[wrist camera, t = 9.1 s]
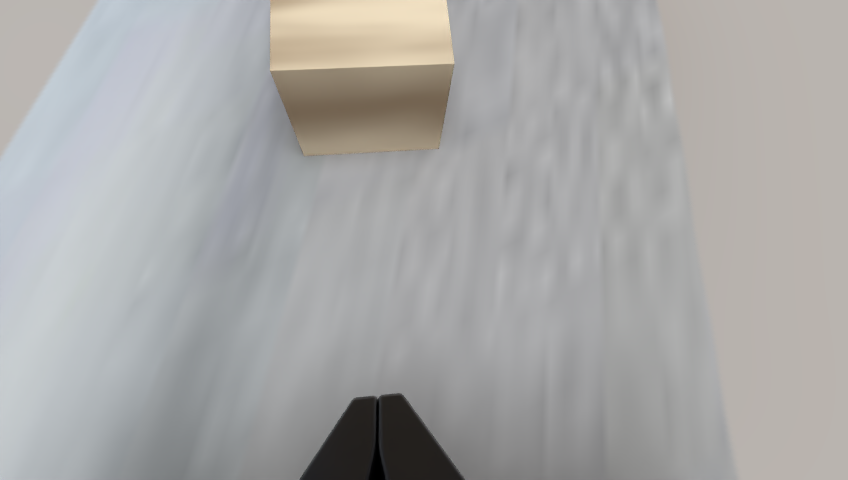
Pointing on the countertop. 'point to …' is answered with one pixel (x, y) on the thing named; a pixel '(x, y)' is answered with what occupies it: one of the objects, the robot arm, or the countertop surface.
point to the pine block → (362, 72)
